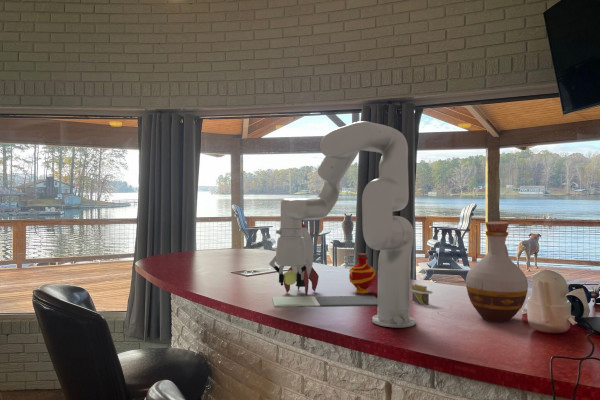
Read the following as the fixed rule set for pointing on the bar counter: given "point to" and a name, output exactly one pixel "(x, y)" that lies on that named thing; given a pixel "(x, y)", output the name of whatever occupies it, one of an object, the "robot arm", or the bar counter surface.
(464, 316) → the bar counter surface
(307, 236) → the toy
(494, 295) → the jug
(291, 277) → the ball
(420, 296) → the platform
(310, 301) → the strip
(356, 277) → the potion bottle
